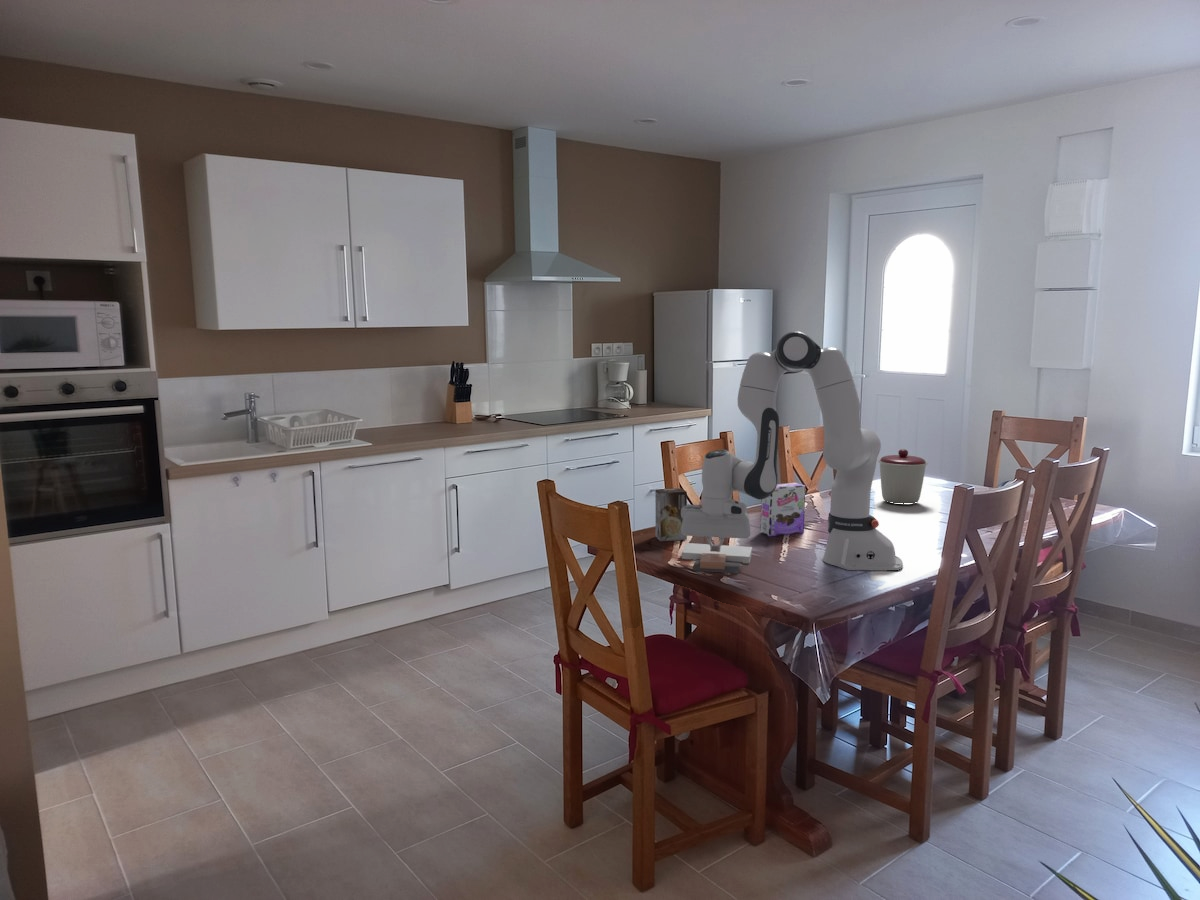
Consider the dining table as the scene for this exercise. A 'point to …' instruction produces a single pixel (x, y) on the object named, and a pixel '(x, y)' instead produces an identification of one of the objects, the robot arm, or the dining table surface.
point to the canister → (902, 477)
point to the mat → (729, 568)
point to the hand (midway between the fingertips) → (715, 551)
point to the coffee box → (669, 513)
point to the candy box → (783, 510)
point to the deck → (731, 552)
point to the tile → (713, 561)
